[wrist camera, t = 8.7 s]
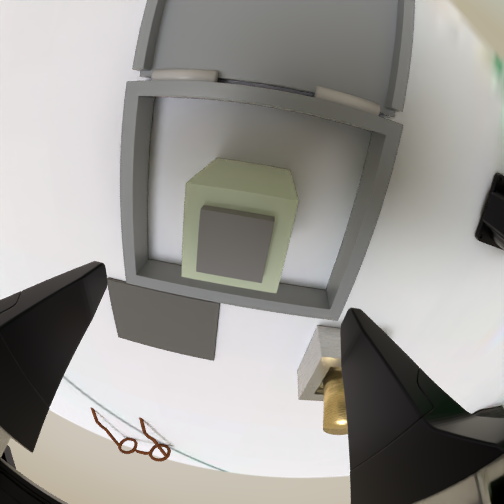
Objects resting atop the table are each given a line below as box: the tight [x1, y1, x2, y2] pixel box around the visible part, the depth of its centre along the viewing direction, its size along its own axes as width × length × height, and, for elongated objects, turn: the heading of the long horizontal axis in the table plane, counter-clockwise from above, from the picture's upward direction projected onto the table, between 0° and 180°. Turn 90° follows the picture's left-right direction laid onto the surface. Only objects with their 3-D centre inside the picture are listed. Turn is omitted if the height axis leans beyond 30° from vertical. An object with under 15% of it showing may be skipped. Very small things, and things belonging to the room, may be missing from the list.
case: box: [120, 0, 415, 321], centre depth 14 cm, size 17×30×2 cm, turn 171°
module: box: [182, 158, 299, 293], centre depth 16 cm, size 5×5×8 cm
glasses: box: [91, 408, 171, 461], centre depth 40 cm, size 13×13×5 cm
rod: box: [323, 367, 348, 435], centre depth 22 cm, size 4×4×8 cm
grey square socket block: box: [297, 326, 341, 401], centre depth 24 cm, size 7×7×4 cm
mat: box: [107, 278, 220, 361], centre depth 25 cm, size 11×8×1 cm
